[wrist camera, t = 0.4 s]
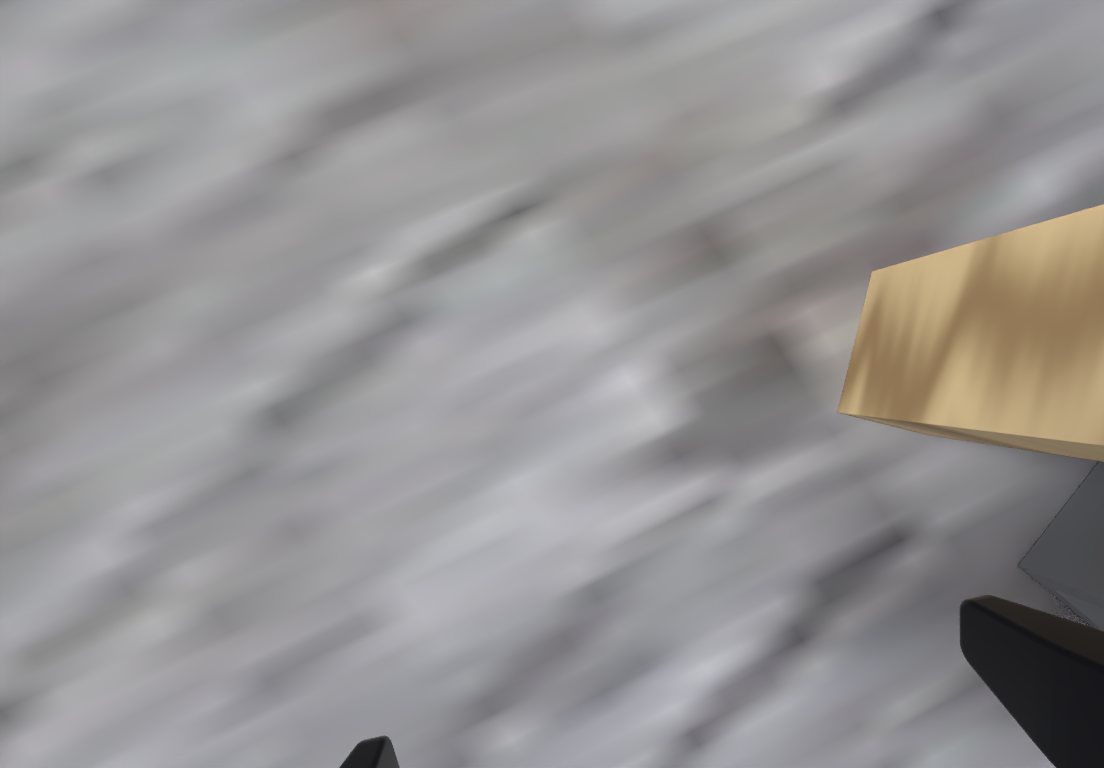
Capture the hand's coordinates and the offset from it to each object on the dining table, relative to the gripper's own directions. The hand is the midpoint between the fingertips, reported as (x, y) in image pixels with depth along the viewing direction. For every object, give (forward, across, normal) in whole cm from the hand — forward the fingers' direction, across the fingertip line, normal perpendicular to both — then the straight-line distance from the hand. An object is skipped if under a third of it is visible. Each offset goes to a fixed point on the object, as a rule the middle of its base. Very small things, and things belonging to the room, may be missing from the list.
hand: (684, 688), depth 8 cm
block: (+14, -14, 0) cm, 20 cm away
